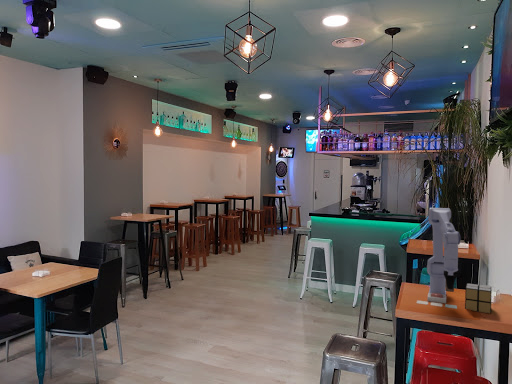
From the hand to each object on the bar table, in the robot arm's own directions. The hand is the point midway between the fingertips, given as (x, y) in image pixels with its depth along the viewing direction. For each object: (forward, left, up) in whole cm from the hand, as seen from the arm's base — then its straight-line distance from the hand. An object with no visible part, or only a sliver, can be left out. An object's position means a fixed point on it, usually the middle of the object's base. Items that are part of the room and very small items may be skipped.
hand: (450, 288), depth 177 cm
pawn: (0, 0, -1) cm, 1 cm away
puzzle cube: (-4, +11, -9) cm, 15 cm away
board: (0, -6, -9) cm, 10 cm away
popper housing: (-8, -6, -9) cm, 13 cm away
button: (-8, -6, -9) cm, 13 cm away
